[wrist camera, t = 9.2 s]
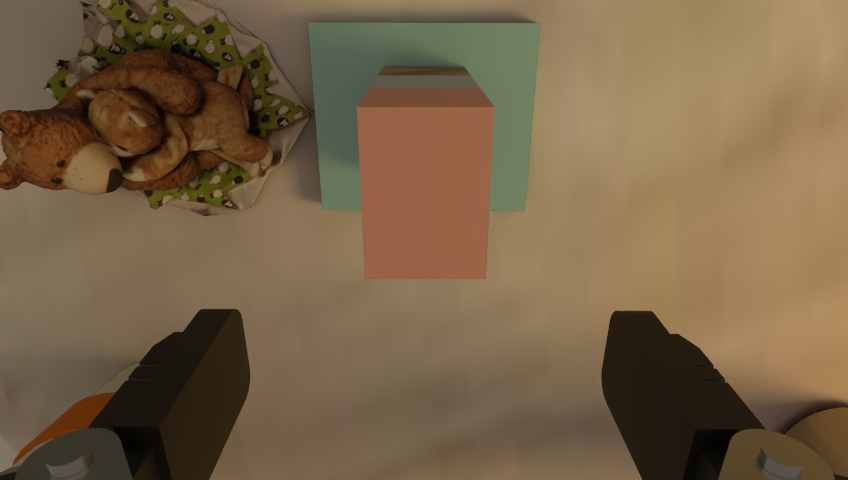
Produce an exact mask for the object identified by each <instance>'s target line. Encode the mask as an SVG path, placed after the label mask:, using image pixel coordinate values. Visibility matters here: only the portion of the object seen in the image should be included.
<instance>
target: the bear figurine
mask: <svg viewBox="0 0 848 480" xmlns="http://www.w3.org/2000/svg"><path fill="white" fill-rule="evenodd" d="M80 3H81V4H82V6H83V14H84V31H85V36H84V40H83V45H82V49H81V50H79V52H78V54H77V55H78V56H80V57H81V56H86V55H88V57H87V58H86V59H83V60H80V57H78V58H76V59H73V60H70V61H64V60H58V61H59V63H58V62H55V63H56V64H57V66H55V67H58V71H57V72H56V73H55V74H54V75H53V76H52V77H51V78H50V79H49V80H48V81H47V85H46V87H45V88H44V90H45V91H46V92H48V93H49V94H50V95H51V96H52V97H53V98H55V99H56V100H58V101H59V103H58V104H57V105H56V106H54V107H53V108H50V109H44V110H35V111H29V112H27V111H23V112H22V111H21V110H18V111H15V110H9V111H5V112H2V113H1V114H0V131H2V132H3V133H2V139H1V142H2V146H3V151H4V153H5V155H6V157H7V159H6V160H5V161H4V162H3V163H2V165H1V166H0V188H2V189H4V190H10V189H14V188H16V187H18V186H19V185H20V184H21V183H22V182H24V181H25V182H28V183H31V184H34V185H37V186H39V187H42V188H45V189H46V188H48V189H51V190H61V189H72V190H74V191H78V192H81V193H85V194H93V195H97V194H103V193H108V192H113V191H115V190H116V189H118V188H119V187H122V188H125V189H128V190H134V191H135V192H137V193H138V194H140V195H141V196H143V197H144V198H146V199H148V201H149V202H150V207H151V208H153V209H155V210H156V209H158V208H159V207H160V206H162V205H163V204H171V205H174V206H177V207H180V208H183V209H186V210H189V211H192V212H194V213H197V214H200V215H203V216H210V215H217V214H225V213H232V212H239V211H241V209H244V208H251V206H252V204H253V202H254V200H255V199H256V197H257V195H258V193H259V191H260V189H261V187H262V185H263V184H264V182H265V180H266V178H267V177H268V175H269V173H270V172H271V171H272V170H273V169H275V168H276V167H278V166H281V165H282V164H283V162H284V160H285V159H286V157H287V155H288V154H289V152H290V150H291V148H292V147H293V145H294V143H295V142H296V140H297V138H298V136H299V135H300V133H301V131H302V130H303V128H304V126H305V125H306V123H307V121H308V119H309V118H310V116H311V115H312V114H313V113H314V112H312V111H309V110H308V109H307V108H306V107H307V106H306V107H305V106H304V105H303V104H302V101H301V99H300V98H299V97H298V95H297V94H296V92H295V91H294V89H293V88H292V87H291V85H290V84H289V82H288V81H287V80H286V78H285V77H284V75H283V74H282V73H281V71H280V70H279V68H278V67H277V65H276V64H275V63H274V61H273V60H272V58H271V55H270V52H269V49H268V46H267V45H266V44H265V43H264V42H262V41H261V40H260V39H258V38H257V37H256V36H255V35H253V34H252V33H251V32H250V33H251V34H252V35H253V36H255V37H256V38H255V37H252V36H249V35H244V34H241V33H240V32H238V31H237V30H236V29H235V28H234V27H232V26H231V25H230V24H229V22H228V21H227V19H226V17H225V14H224V13H223V12H222V11H220V10H217V9H214V8H211V7H208V6H206V5H203V4H201V3H199V2H197V1H195V0H97V2H96V3H95V4H94V5H93V6H92V5H89V4H87V3H84V2H81V1H80ZM100 21H102V23H103V24H104V26H103V27H101V30H100V33H99V36H98V39H97V41H94V40H93V39H91V38H92V36H93V34H94V32H95V30H96V28H97V26H98V24H99V23H100ZM237 23H238V22H237ZM238 24H239V23H238ZM242 27H243V26H242ZM243 28H244V27H243ZM246 30H247V29H246ZM247 31H248V30H247ZM248 32H249V31H248ZM260 58H261V59H262V60H260ZM309 108H310V107H309Z"/></svg>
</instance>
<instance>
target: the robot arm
mask: <svg viewBox="0 0 848 480" xmlns="http://www.w3.org/2000/svg"><path fill="white" fill-rule="evenodd" d="M249 384H250V367H249V361H248V354H247V348H246V341H245V335H244V328H243V322H242V317H241V314H240V312H239V310H237V309H201V310H200V311H199V312H198V313H197V314H196V315H195V317H194V318H193V319H192V321H191V322H190V323H189V325H188V326H187V327H186V329H185V330H184V331H183V332H174V333H172V334H171V335H169V336H168V337H166V338H165V339H163V340H162V341H160V342H159V343H157V344H156V345H154V346H153V347H152V348H151V349H150V351H149V352H148V353H147V354H146V356H145V357H144V358H143V359H142V361H141V362H140V365H139V366H137V367H136V368H135V369H134V370H133V372H132V373H131V374H130V375H129V377H128V381H125V382H124V383H123V384H122V385H121V387H120V388H119V389H118V390H117V392H116V393H115V394H114V395H113V397H112V398H111V399H110V400H109V402H108V403H107V404H106V405H105V406H104V408H103V409H102V410H101V411H100V413H99V414H98V415H97V416H96V418H95V419H94V420H93V421H92V423H91V424H90V425H89V426H88V428H86V429H80V430H76V431H72V432H69V433H66V434H64V435H61V436H59V437H56V438H54V439H53V440H51V441H49V442H47V443H45V444H44V445H42V446H41V447H39V448H38V449H37V450H35V451H34V452H33V453H32V454H31V455H30V456H28V457H27V458H26V459H25V461H24V462H23V463H22V464H21V466H20V467H19V469H18V471H17V472H13V473H9V474H5V475H0V480H209V479H210V477H211V474H212V472H213V470H214V468H215V466H216V463H217V461H218V459H219V457H220V455H221V452H222V450H223V448H224V446H225V444H226V442H227V439H228V437H229V435H230V433H231V431H232V428H233V426H234V424H235V422H236V420H237V417H238V415H239V413H240V411H241V409H242V406H243V404H244V402H245V400H246V397H247V394H248V390H249ZM602 389H603V394H604V397H605V400H606V403H607V405H608V407H609V409H610V411H611V413H612V415H613V418H614V420H615V422H616V424H617V426H618V428H619V430H620V433H621V435H622V437H623V439H624V441H625V443H626V445H627V448H628V450H629V452H630V454H631V456H632V458H633V460H634V463H635V465H636V467H637V469H638V471H639V473H640V475H641V478H642V480H848V407H840V408H833V409H827V410H824V411H821V412H817V413H815V414H813V415H811V416H808V417H806V418H804V419H803V420H801V421H800V422H798V423H797V424H795V425H794V426H793V427H792V428H791V429H790V430H788V431H787V432H786V433H785V435H784V434H780V433H777V432H774V431H770V430H766V429H765V428H764V427H763V425H762V424H761V423H760V422H759V420H758V419H757V418H756V417H755V416H754V414H753V413H752V412H751V411H750V409H749V408H748V407H747V406H746V405H745V403H744V402H743V401H742V400H741V398H740V397H739V396H738V395H737V394H736V392H735V391H734V390H733V389H732V387H731V386H730V385H729V384H728V383H725V379H724V378H723V376H722V375H721V374H720V373H719V371H718V370H717V369H714V368H713V364H712V363H711V362H710V360H709V359H708V358H707V357H706V356H705V354H704V353H703V352H702V351H701V349H700V348H698V347H697V346H695V345H694V344H692V343H691V342H689V341H688V340H686V339H685V338H683V337H682V336H680V335H679V334H669V332H668V331H667V330H666V328H665V327H664V326H663V324H662V323H661V322H660V320H659V319H658V318H657V316H656V315H655V314H654V313H653V312H652V311H615V312H613V314H612V316H611V319H610V324H609V330H608V336H607V342H606V348H605V354H604V360H603V366H602Z"/></svg>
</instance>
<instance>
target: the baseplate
mask: <svg viewBox="0 0 848 480" xmlns="http://www.w3.org/2000/svg"><path fill="white" fill-rule="evenodd" d="M308 30H309V43H310V56H311V69H312V82H313V95H314V108H315V121H316V134H317V147H318V160H319V173H320V186H321V199H322V210H362V205H361V184H360V164H359V144H358V124H357V106H358V105H359V103H360V102H361V100H362V99H363V97H364V96H365V94H366V93H367V91H368V90H369V86H370V85H371V84H372V82H373V81H374V79H375V78H376V77H377V75H378V74H379V72H380V71H381V70H382V68H383V67H384V66H464V67H465V68H466V69H467V71H468V72H469V74H470V75H471V76H472V78H473V79H474V81H475V82H476V83H477V85H478V86H479V87H480V88H481V89H482V91H483V92H484V93H485V95H486V96H487V97H488V99H489V100H490V102H491V103H492V104H493V106H494V107H495V108H494V127H493V147H492V166H491V186H490V205H489V210H510V211H525V204H526V192H527V179H528V167H529V155H530V143H531V131H532V119H533V107H534V95H535V83H536V70H537V58H538V46H539V34H540V23H430V22H309V23H308Z"/></svg>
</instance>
